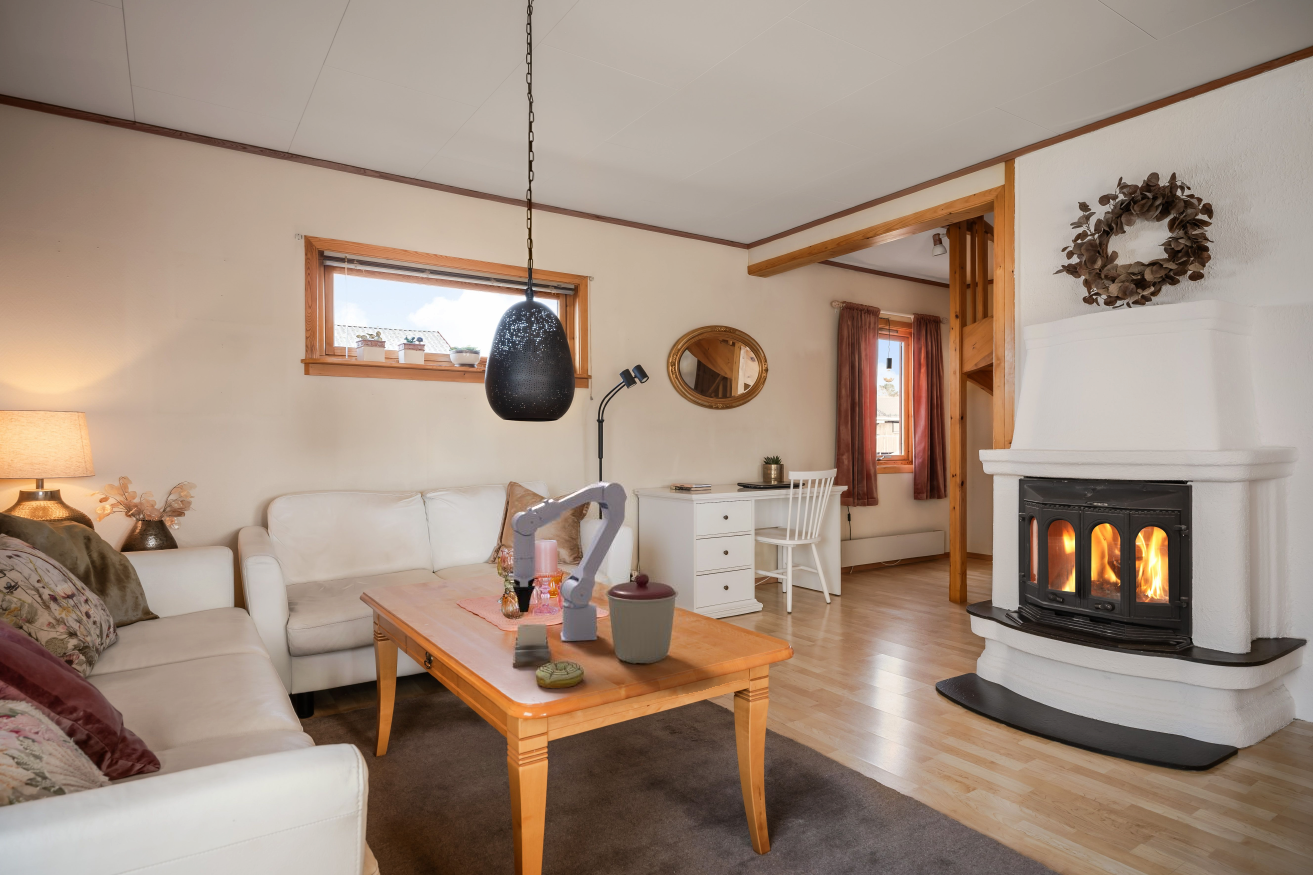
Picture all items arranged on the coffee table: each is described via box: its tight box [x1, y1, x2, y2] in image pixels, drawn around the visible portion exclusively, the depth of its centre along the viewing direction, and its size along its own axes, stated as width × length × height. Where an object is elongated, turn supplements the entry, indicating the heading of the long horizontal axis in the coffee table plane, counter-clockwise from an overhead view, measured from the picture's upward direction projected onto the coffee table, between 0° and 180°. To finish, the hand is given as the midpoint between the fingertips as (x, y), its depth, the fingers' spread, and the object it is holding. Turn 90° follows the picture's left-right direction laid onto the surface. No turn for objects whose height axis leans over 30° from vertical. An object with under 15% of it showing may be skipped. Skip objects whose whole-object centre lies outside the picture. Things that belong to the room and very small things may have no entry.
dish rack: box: [512, 635, 552, 668], centre depth 179 cm, size 9×14×4 cm, turn 10°
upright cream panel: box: [517, 623, 547, 646], centre depth 179 cm, size 7×2×7 cm, turn 100°
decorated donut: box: [535, 660, 585, 689], centre depth 161 cm, size 10×11×4 cm
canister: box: [605, 573, 679, 664], centre depth 179 cm, size 18×18×21 cm
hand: (523, 608), depth 190 cm, fingers open, 7 cm apart
